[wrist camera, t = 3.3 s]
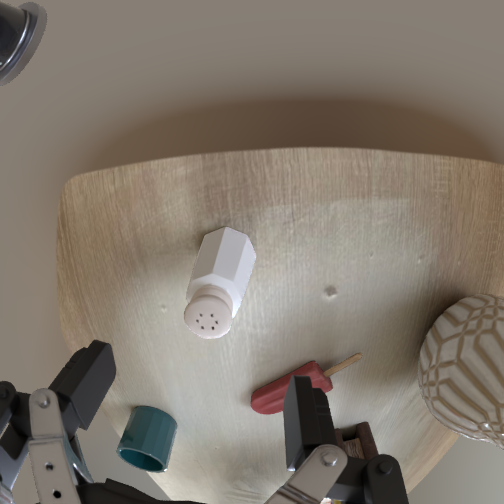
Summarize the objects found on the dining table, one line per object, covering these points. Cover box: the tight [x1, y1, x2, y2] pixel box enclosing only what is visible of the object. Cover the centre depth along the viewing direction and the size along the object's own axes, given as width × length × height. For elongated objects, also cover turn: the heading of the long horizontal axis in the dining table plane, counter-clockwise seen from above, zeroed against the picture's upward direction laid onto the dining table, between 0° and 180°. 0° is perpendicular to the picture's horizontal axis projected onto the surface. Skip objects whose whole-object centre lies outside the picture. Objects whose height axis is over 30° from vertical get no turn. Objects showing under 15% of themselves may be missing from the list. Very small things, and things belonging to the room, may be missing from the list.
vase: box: [418, 294, 504, 450], centre depth 19 cm, size 16×16×20 cm
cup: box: [116, 406, 177, 473], centre depth 31 cm, size 7×7×8 cm
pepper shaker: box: [184, 227, 256, 339], centre depth 21 cm, size 5×5×11 cm
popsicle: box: [251, 353, 362, 414], centre depth 30 cm, size 4×2×15 cm
